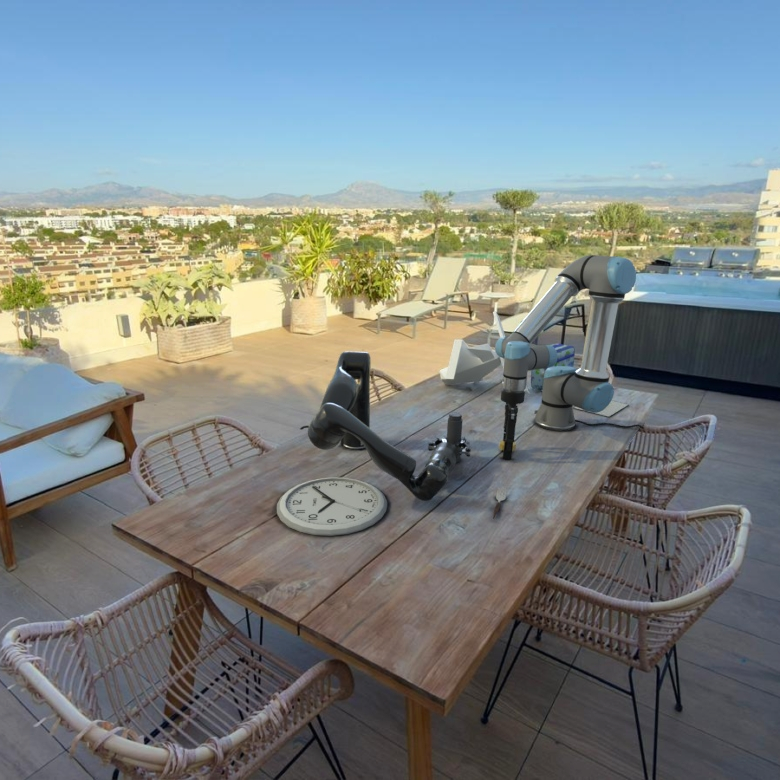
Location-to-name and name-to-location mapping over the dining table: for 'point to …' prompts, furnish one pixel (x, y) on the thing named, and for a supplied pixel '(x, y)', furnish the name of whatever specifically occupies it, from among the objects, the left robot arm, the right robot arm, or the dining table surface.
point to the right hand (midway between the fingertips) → (506, 455)
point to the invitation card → (610, 408)
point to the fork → (499, 498)
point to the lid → (501, 445)
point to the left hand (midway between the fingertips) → (455, 438)
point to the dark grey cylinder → (454, 428)
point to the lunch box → (563, 359)
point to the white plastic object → (472, 361)
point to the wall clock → (331, 506)
